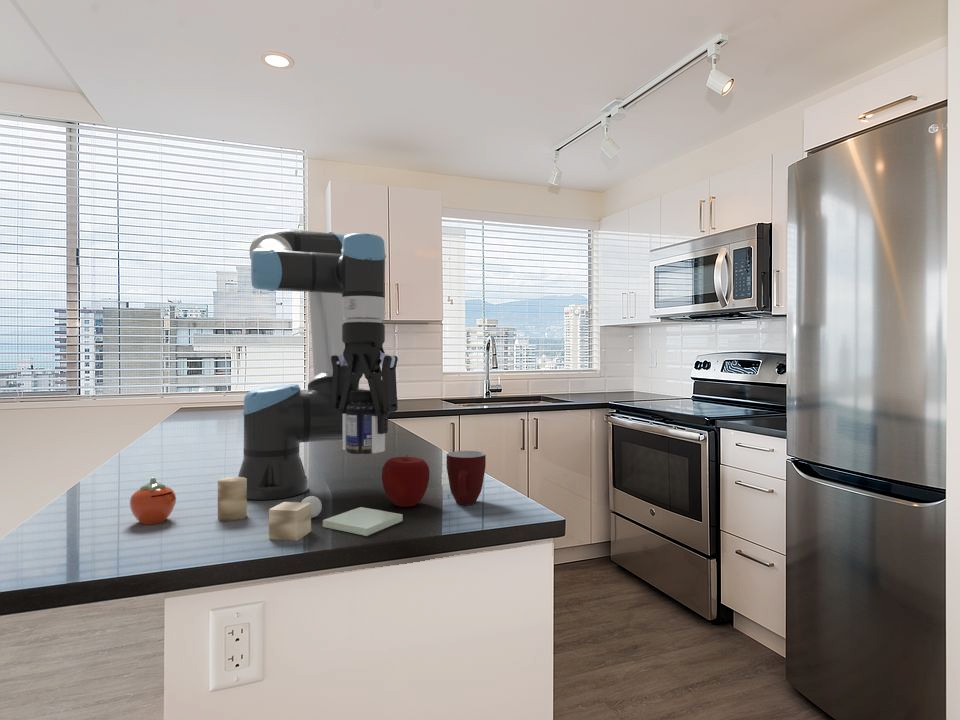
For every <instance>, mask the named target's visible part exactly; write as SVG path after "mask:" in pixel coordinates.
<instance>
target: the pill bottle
mask: <svg viewBox="0 0 960 720" xmlns="http://www.w3.org/2000/svg"><path fill="white" fill-rule="evenodd" d="M350 398H351V404H349V405H348V406H347V408H346V450H345V451H346V452H347V453H349V454H351V455H369V454H370V455H371V454H373V453H372V416H374V415H373V414H374V413H375V409H374V405H373V401H372V397H371V392H370V389H365V390H353V391H350Z"/></svg>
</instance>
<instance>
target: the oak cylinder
mask: <svg viewBox="0 0 960 720" xmlns="http://www.w3.org/2000/svg"><path fill="white" fill-rule="evenodd" d="M247 502H248V499H247V478H244V477H238V476H229V477H223V478H220V479H218V480H217V520H218V519H219V520H218V521H220V520H223V521H222V522H232V521H231V520H234V521H238V520H237V519H240V520H242V519H241V518H243V519H245V518H247V515H248V514H247V513H248V512H247V511H248V509H247V506H248V505H247V504H248V503H247ZM244 517H245V518H244ZM225 520H226V521H225ZM229 520H230V521H229Z"/></svg>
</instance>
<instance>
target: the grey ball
mask: <svg viewBox="0 0 960 720" xmlns="http://www.w3.org/2000/svg"><path fill="white" fill-rule="evenodd" d="M300 503H311V519H313V518H315V517H316V518H317V516H319V514H320V513H321V512H322V507H323V506H322V505H323V504H322V501H321V500H320V498H318V497H317V496H313V495H308V496H306V497H305V498H303V499H302V500H301V502H300Z"/></svg>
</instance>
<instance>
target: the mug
mask: <svg viewBox="0 0 960 720" xmlns="http://www.w3.org/2000/svg"><path fill="white" fill-rule="evenodd" d="M486 460H487V459H486V453H484V452H483V451H477V450H475V451H474V450H457V451H456V450H455V451H451V452H447V453H446V473H447V478H448V484H449V490H450V492H451V494H452V497H453V499H454V501H455V502H456V503H457V504H458V505H462V506H464V505H466V506H468V505H474V504H475V503H476V502H477V500H478V498H479V496H480V495H481V492H482V489H483V484H484V479H485V473H486V464H487V463H486Z"/></svg>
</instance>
